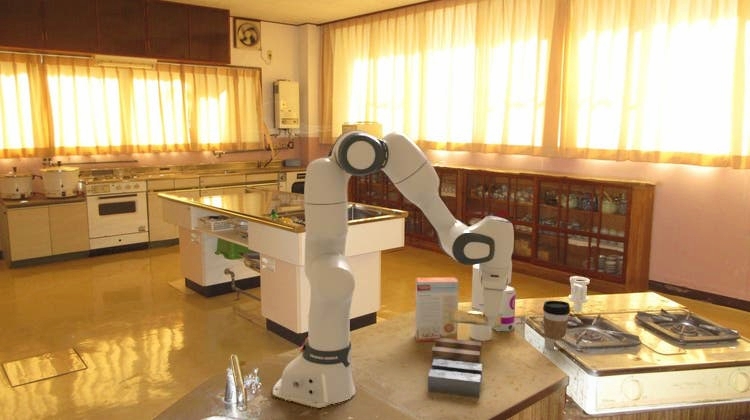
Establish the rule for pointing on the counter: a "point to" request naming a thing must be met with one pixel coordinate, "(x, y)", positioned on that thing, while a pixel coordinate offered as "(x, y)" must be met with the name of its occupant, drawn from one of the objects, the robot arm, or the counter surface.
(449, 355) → the walnut bearing block
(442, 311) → the cracker box
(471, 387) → the iron V-block
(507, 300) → the supplement can
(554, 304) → the coffee cup
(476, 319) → the brass axle
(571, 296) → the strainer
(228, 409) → the counter surface
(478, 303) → the cylindrical container
